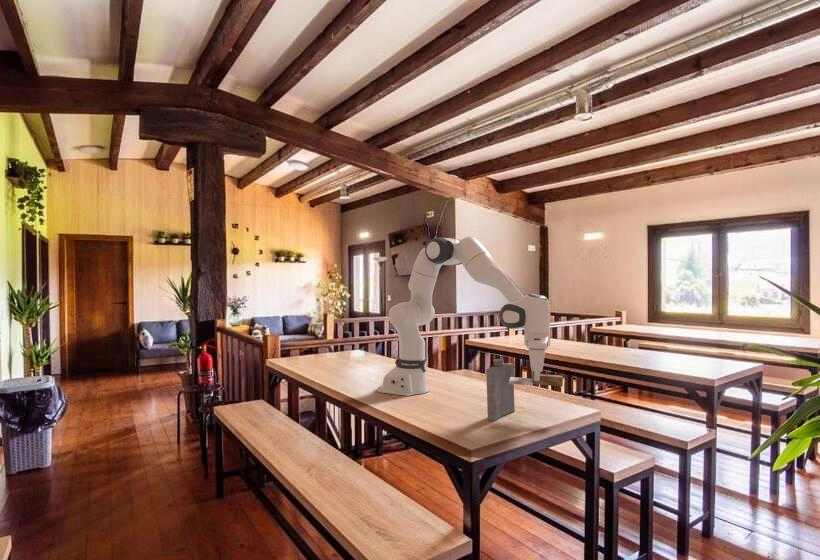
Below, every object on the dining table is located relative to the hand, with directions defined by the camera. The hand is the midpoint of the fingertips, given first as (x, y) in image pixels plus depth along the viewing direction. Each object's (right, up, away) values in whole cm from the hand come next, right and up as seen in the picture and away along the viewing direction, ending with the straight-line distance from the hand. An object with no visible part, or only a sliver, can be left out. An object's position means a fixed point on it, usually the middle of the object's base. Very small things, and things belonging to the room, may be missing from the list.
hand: (536, 379), depth 162 cm
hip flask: (-12, -14, +4) cm, 19 cm away
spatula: (0, -2, 0) cm, 2 cm away
